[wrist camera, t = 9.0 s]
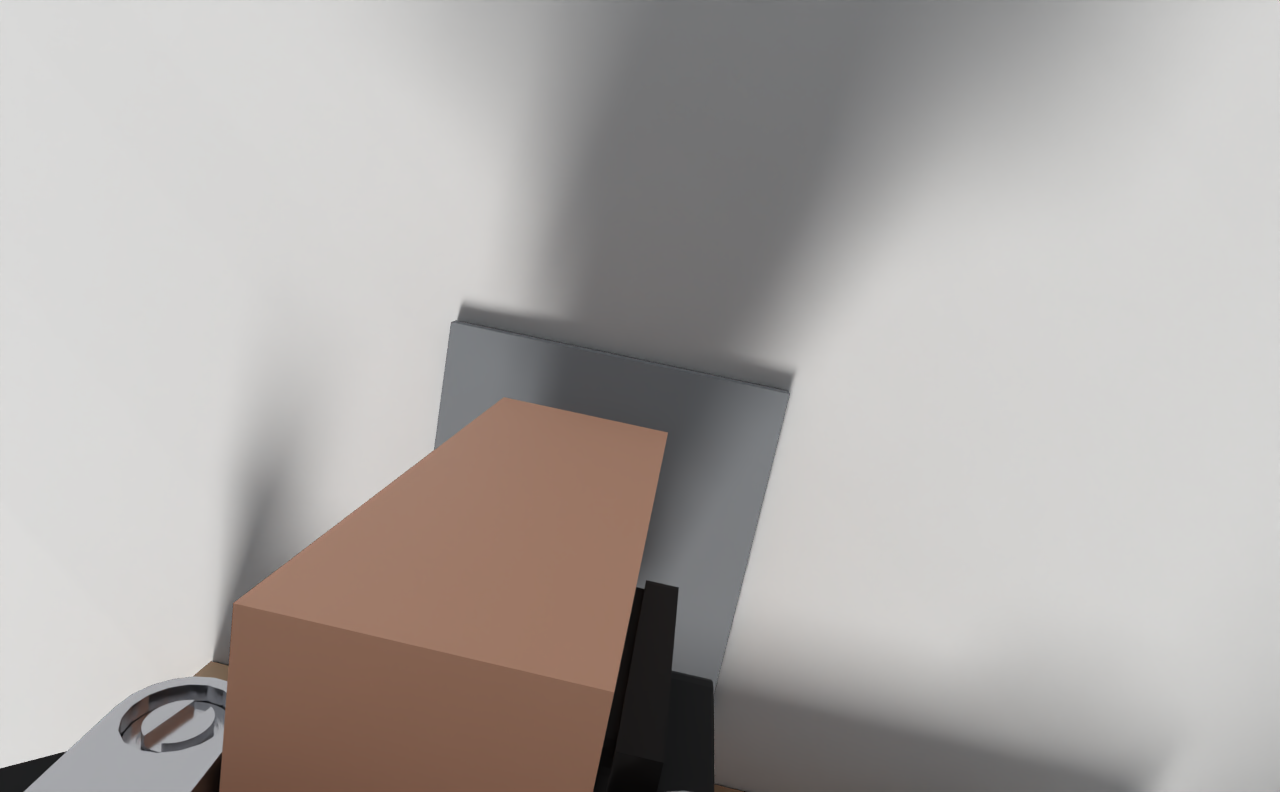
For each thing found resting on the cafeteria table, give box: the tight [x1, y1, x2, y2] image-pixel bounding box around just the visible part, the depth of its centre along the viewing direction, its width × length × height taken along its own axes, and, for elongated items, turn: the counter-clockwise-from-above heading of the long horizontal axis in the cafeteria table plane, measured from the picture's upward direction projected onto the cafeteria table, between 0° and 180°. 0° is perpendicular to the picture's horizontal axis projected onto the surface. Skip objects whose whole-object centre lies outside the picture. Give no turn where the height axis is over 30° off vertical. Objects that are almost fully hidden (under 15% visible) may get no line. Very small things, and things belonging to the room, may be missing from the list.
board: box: [219, 397, 668, 792], centre depth 10 cm, size 3×6×8 cm, turn 169°
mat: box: [434, 321, 790, 696], centre depth 15 cm, size 7×8×1 cm
